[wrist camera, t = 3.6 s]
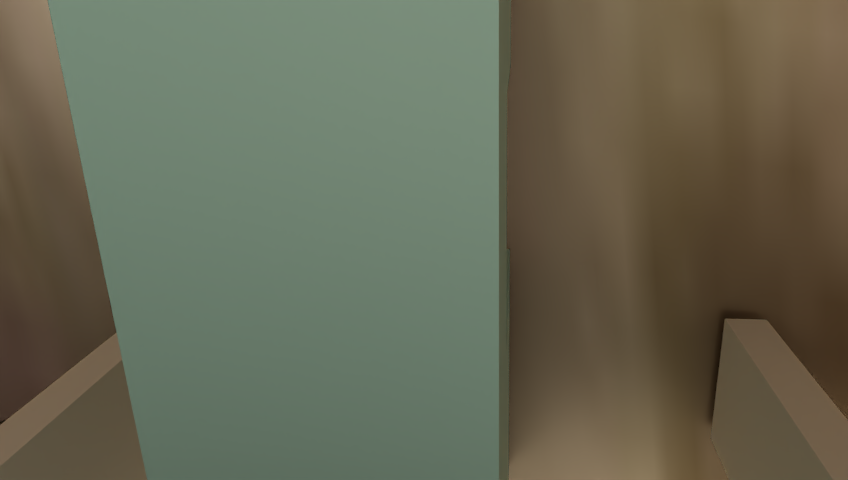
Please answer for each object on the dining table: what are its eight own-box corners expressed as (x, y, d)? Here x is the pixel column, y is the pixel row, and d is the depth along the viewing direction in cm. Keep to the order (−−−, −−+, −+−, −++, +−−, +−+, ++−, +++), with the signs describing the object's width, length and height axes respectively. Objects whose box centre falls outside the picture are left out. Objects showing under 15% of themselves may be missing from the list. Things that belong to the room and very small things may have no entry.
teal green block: (376, 463, 15) (236, 910, 8) (324, -268, 11) (-152, -949, 3) (508, 471, 15) (498, 951, 7) (512, -286, 10) (498, -1125, 3)
